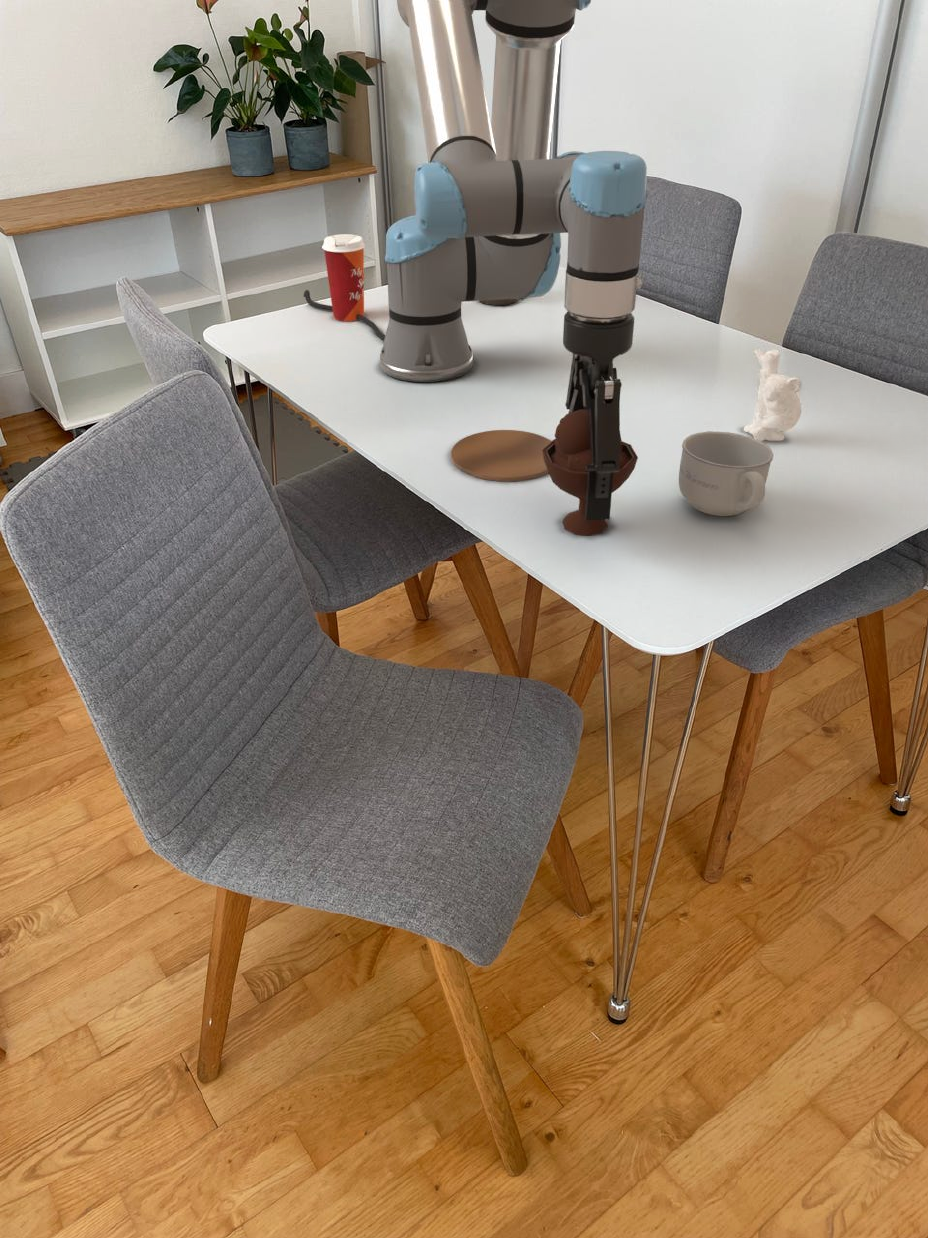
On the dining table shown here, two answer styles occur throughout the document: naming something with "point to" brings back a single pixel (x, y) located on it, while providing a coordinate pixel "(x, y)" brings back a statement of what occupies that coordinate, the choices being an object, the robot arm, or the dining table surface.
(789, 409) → the koala figurine
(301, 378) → the dining table surface
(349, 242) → the paper cup
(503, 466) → the brown round coaster
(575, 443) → the ice cream bowl
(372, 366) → the dining table surface
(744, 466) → the teacup
